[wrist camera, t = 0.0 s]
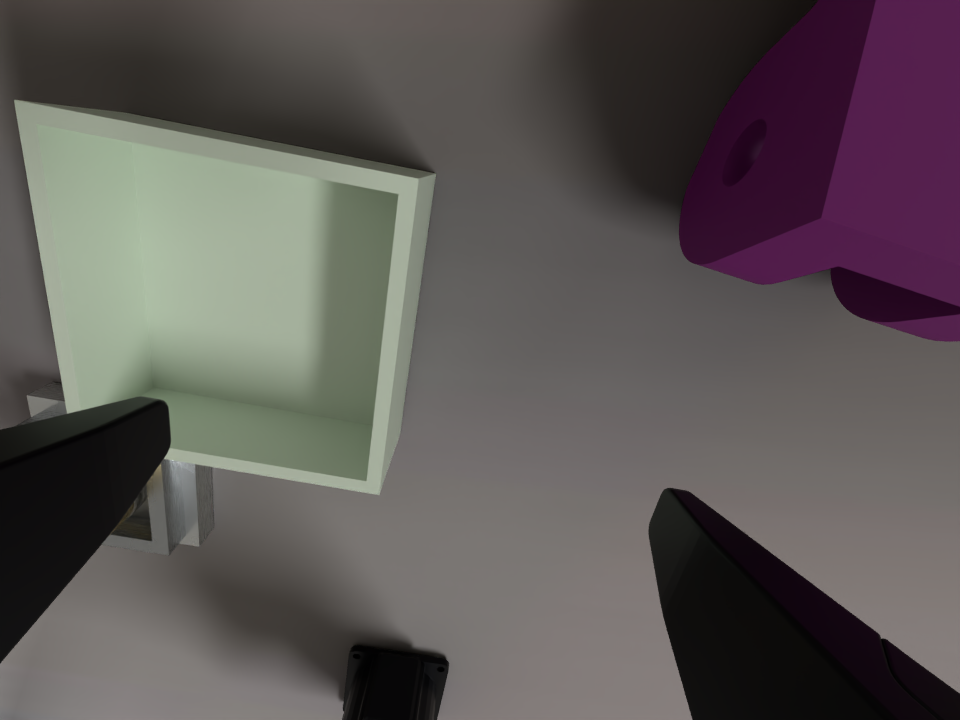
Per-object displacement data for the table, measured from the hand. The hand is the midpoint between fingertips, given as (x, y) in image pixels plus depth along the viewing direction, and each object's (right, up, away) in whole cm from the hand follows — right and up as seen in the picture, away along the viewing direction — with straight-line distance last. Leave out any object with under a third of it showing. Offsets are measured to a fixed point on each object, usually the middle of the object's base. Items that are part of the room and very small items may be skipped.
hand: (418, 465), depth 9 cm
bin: (-8, +5, +14) cm, 17 cm away
